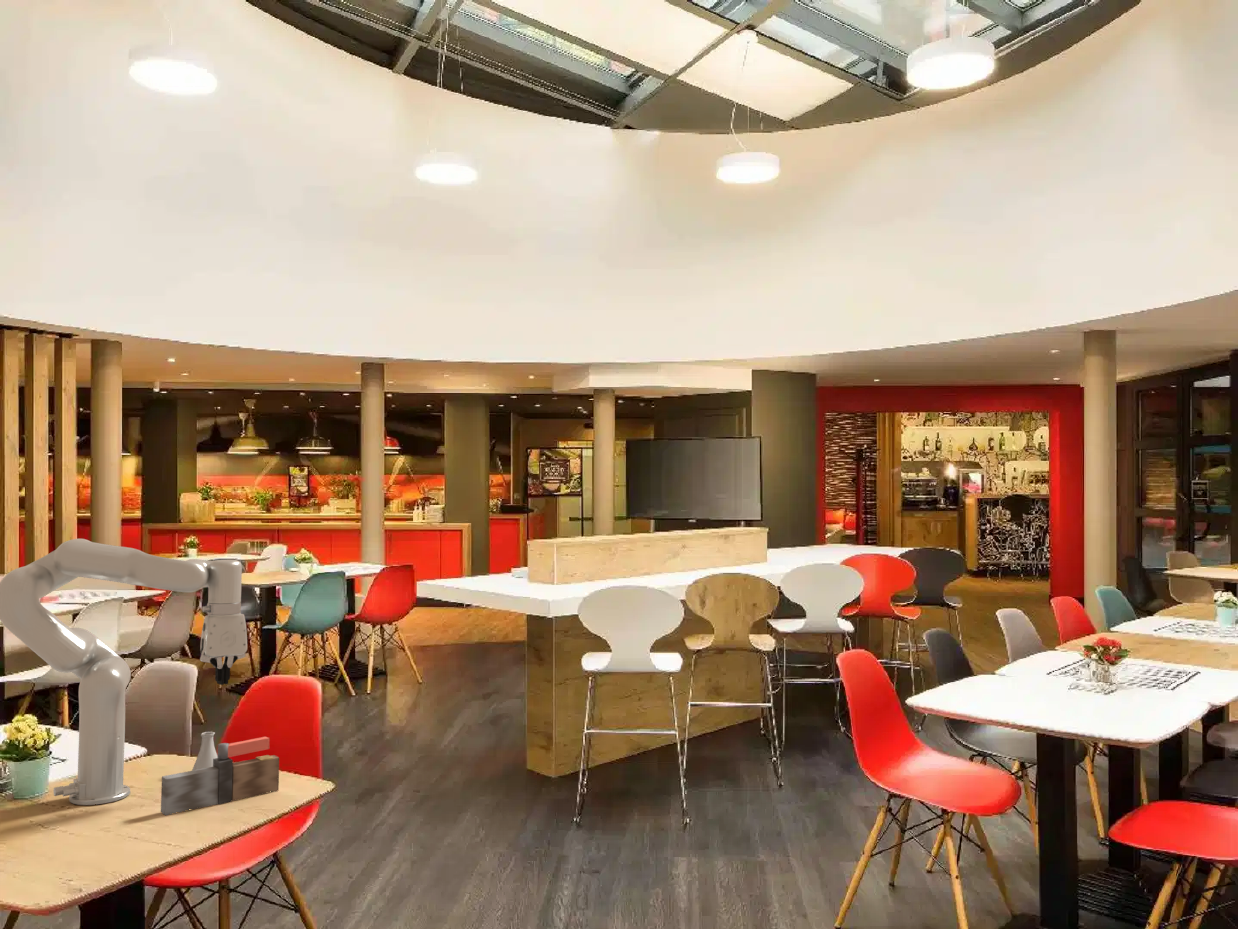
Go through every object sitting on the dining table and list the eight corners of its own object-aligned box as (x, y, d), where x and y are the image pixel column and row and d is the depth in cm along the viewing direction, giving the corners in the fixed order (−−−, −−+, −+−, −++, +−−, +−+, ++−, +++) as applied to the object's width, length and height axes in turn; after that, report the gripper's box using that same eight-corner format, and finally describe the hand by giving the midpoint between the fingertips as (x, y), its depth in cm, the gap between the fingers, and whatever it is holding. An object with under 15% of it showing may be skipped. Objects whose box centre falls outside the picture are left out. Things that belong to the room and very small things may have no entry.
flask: (227, 768, 241) (228, 730, 241) (212, 776, 234) (213, 737, 234) (200, 767, 242) (202, 729, 242) (185, 775, 234) (186, 736, 235)
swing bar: (220, 760, 214) (220, 746, 214) (215, 758, 215) (216, 744, 215) (269, 749, 223) (269, 736, 223) (264, 748, 224) (265, 734, 224)
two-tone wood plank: (166, 816, 204) (167, 772, 205) (160, 811, 207) (161, 768, 208) (279, 791, 222) (280, 751, 223) (272, 787, 225) (273, 747, 226)
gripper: (199, 613, 220) (196, 690, 219) (260, 608, 230) (258, 682, 230) (187, 610, 225) (185, 685, 225) (248, 606, 236) (246, 677, 235)
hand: (222, 683), depth 227 cm, fingers closed
